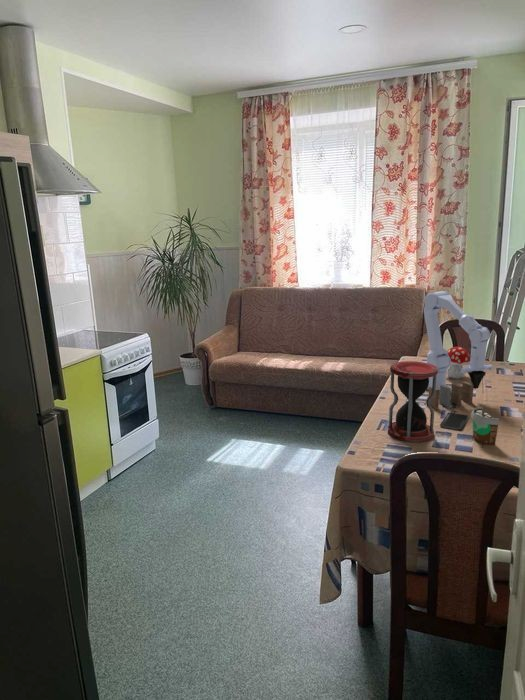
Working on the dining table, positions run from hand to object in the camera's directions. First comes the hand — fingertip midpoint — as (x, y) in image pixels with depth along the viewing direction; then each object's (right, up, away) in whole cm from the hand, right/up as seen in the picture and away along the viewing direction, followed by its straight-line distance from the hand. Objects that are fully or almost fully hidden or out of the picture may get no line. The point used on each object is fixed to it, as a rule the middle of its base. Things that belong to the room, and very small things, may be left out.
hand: (475, 387), depth 216 cm
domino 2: (-14, -7, -3) cm, 16 cm away
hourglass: (-36, -14, -30) cm, 49 cm away
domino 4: (-4, -6, 0) cm, 7 cm away
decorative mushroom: (+4, +3, +34) cm, 34 cm away
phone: (-17, -12, -21) cm, 29 cm away
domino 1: (-19, -7, -4) cm, 21 cm away
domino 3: (-9, -6, -1) cm, 11 cm away
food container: (-14, -16, -37) cm, 42 cm away
